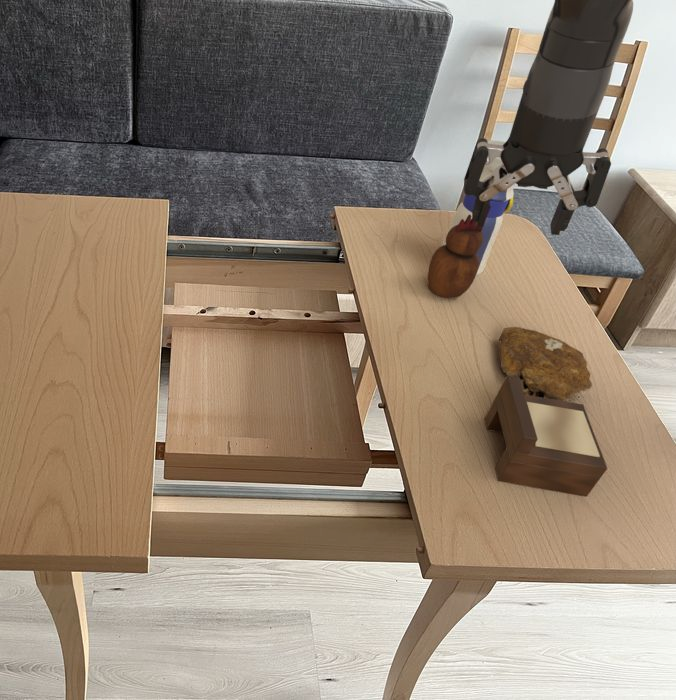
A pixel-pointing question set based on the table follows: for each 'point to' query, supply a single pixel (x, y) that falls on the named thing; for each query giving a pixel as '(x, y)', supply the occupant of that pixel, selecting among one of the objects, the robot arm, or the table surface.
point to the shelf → (544, 441)
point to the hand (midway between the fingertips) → (516, 226)
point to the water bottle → (495, 216)
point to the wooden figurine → (456, 260)
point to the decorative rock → (543, 364)
